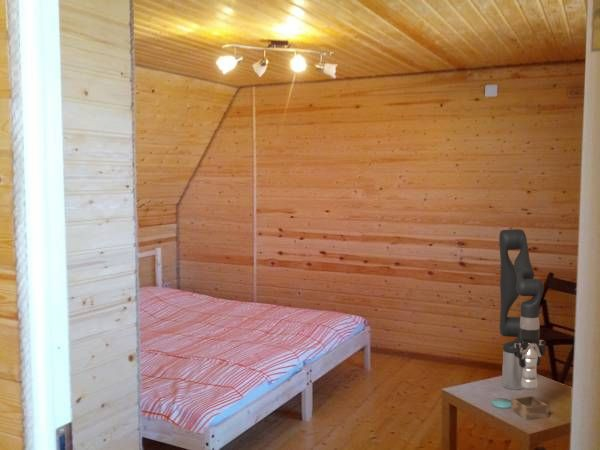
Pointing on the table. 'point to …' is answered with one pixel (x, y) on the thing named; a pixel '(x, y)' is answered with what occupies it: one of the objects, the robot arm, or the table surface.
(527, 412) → the walnut holder
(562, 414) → the table surface
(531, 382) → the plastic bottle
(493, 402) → the teal coaster
